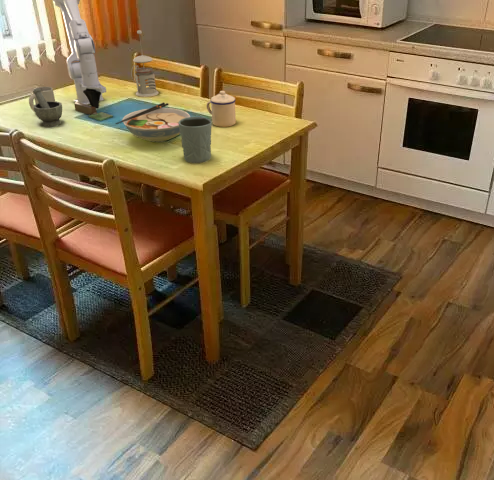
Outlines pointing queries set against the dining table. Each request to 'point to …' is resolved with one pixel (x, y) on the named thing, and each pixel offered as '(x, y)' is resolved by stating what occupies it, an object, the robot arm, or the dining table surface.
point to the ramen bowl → (155, 123)
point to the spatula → (91, 111)
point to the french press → (144, 76)
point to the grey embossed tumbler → (196, 139)
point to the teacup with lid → (222, 110)
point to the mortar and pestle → (47, 110)
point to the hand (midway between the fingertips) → (95, 108)
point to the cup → (47, 94)
